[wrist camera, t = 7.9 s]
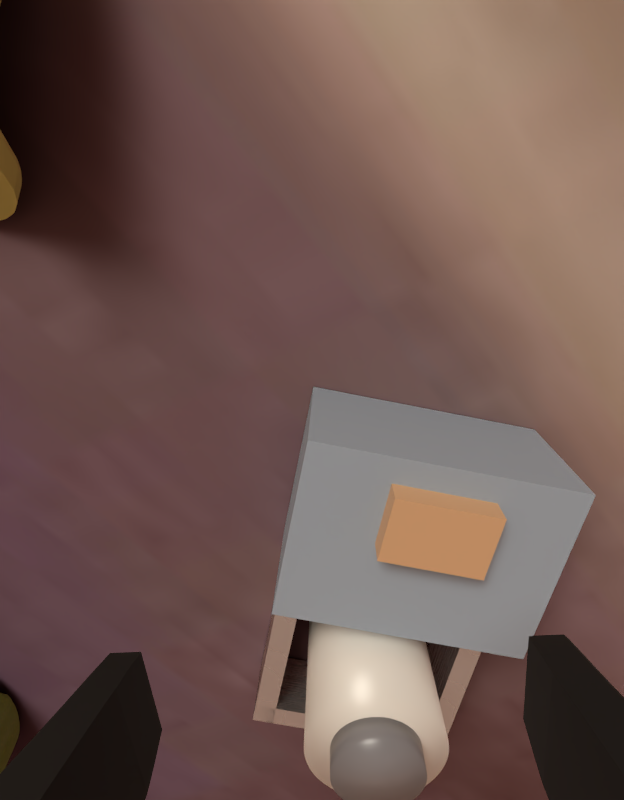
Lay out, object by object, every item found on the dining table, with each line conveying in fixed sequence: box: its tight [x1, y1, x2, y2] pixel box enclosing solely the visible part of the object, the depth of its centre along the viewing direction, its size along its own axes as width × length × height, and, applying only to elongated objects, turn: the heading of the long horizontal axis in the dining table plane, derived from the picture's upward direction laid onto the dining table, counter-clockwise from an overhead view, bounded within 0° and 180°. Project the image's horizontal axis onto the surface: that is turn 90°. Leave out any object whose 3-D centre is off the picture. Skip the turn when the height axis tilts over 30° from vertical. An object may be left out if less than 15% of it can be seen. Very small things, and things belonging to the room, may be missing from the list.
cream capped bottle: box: [304, 621, 449, 800], centre depth 18 cm, size 4×4×7 cm
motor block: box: [272, 387, 596, 659], centre depth 17 cm, size 8×6×5 cm
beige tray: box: [253, 614, 481, 736], centre depth 20 cm, size 8×8×2 cm
